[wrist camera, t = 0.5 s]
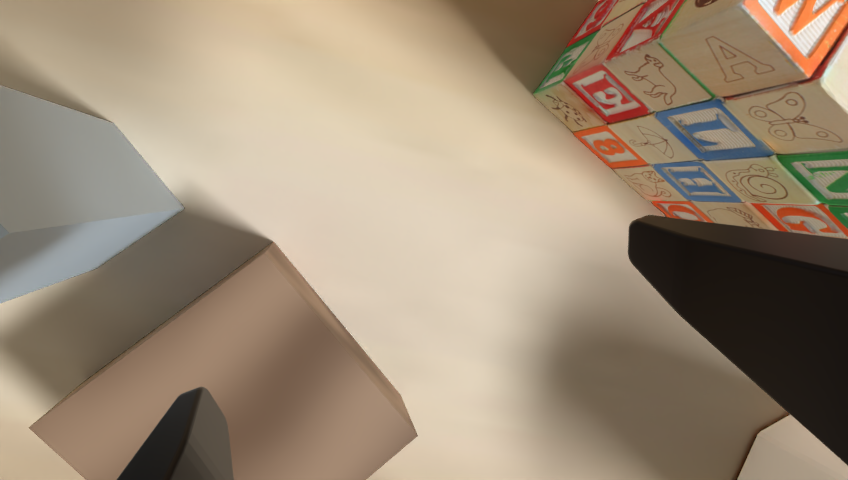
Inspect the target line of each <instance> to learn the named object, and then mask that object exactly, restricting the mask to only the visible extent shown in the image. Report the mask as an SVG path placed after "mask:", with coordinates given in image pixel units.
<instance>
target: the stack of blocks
mask: <svg viewBox="0 0 848 480" xmlns="http://www.w3.org/2000/svg"><path fill="white" fill-rule="evenodd" d="M533 95H534V97H535V98H536V99H537V100H538V101H540V102H541V103H542V104H543V105H544V106H545V107H546V108H547V109H548V110H549V111H551V112H552V113H553V114H554V115H555V116H556V117H557V118H558V119H559V120H560V121H561V122H563V123H564V124H565V125H566V126H567V127H568V128H569V129H570V130H571V131H573V134H574V135H575V136H576V137H577V138H578V139H579V140H580V141H581V142H582V143H583V144H584V145H586V146H587V147H588V148H589V149H590V150H591V151H592V152H593V153H594V154H596V155H597V156H598V157H599V158H600V159H601V160H602V161H603V162H604V163H605V164H607V165H608V166H609V167H610V168H612V169H613V171H614V172H615V173H617V174H618V175H619V176H620V177H621V178H622V179H623V180H624V181H625V182H626V183H627V184H629V185H630V186H631V187H632V188H633V189H634V190H635V191H636V192H637V193H639V194H640V195H641V196H642V197H643V198H644V199H646V200H648V201H651V202H652V203H653V204H654V206H656V207H657V208H659V209H660V210H661V211H662V212H663V213H664V214H665V215H666V216H667V217H669V218H677V219H686V220H694V221H702V222H711V223H719V224H727V225H736V226H744V227H752V228H760V229H769V230H777V231H785V232H794V233H802V234H810V235H819V236H827V237H835V238H844V239H848V0H600V1H599V2H598V3H597V4H596V5H595V7H594V8H593V10H592V11H591V12H590V14H589V15H588V17H587V18H586V19H585V21H584V22H583V24H582V25H581V26H580V28H579V29H578V31H577V32H576V34H575V35H574V36H573V38H572V39H571V41H570V42H569V43H568V45H567V47H566V49H565V51H564V52H563V54H562V55H561V56H560V58H559V59H558V60H557V62H556V63H555V65H554V66H553V67H552V69H551V70H550V72H549V73H548V74H547V76H546V77H545V79H544V80H543V81H542V83H541V84H540V86H539V87H538V88H537V90H536V91H535V92H534V94H533Z"/></svg>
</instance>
